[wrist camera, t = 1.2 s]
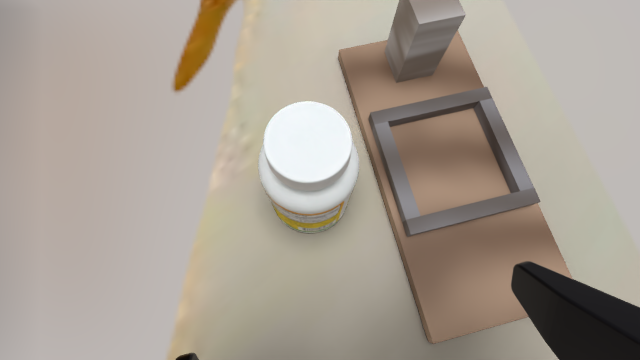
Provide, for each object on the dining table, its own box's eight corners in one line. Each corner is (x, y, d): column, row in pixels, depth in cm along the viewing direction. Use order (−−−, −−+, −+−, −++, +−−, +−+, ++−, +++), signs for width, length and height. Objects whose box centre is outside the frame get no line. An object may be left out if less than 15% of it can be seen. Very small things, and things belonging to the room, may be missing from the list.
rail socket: (571, 300, 22) (685, 307, 15) (428, 341, 21) (480, 367, 14) (451, 35, 28) (493, -43, 21) (338, 58, 27) (345, -16, 21)
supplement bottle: (317, 249, 22) (318, 225, 13) (257, 203, 23) (220, 151, 14) (362, 189, 24) (391, 130, 15) (304, 148, 25) (297, 68, 16)
